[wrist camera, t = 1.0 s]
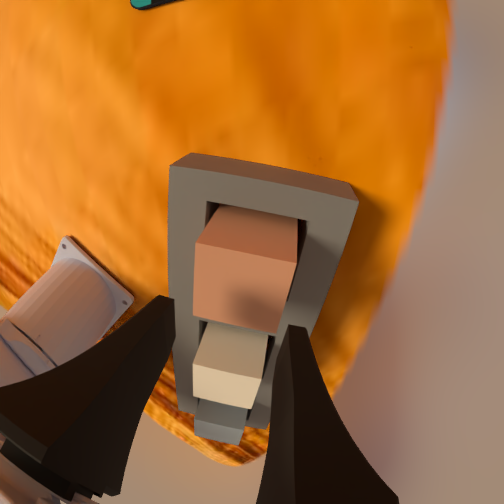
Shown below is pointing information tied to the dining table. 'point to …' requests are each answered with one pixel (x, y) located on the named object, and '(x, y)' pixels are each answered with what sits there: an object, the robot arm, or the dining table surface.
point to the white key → (229, 365)
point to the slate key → (219, 421)
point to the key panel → (262, 199)
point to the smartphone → (147, 3)
